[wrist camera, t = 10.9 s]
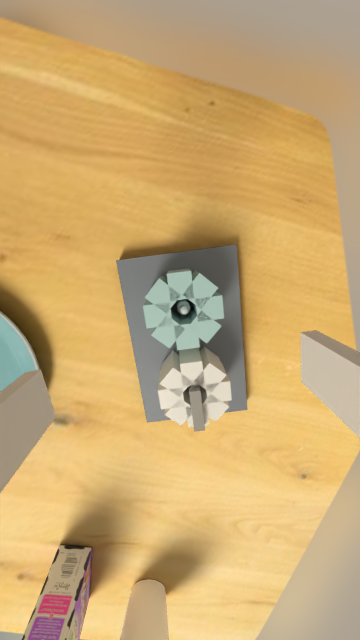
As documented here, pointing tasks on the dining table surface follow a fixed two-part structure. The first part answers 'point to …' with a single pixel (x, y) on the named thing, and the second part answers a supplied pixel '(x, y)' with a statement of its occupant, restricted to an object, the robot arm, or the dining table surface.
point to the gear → (197, 400)
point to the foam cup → (146, 612)
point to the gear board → (226, 341)
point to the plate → (14, 353)
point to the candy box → (63, 597)
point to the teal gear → (181, 326)
